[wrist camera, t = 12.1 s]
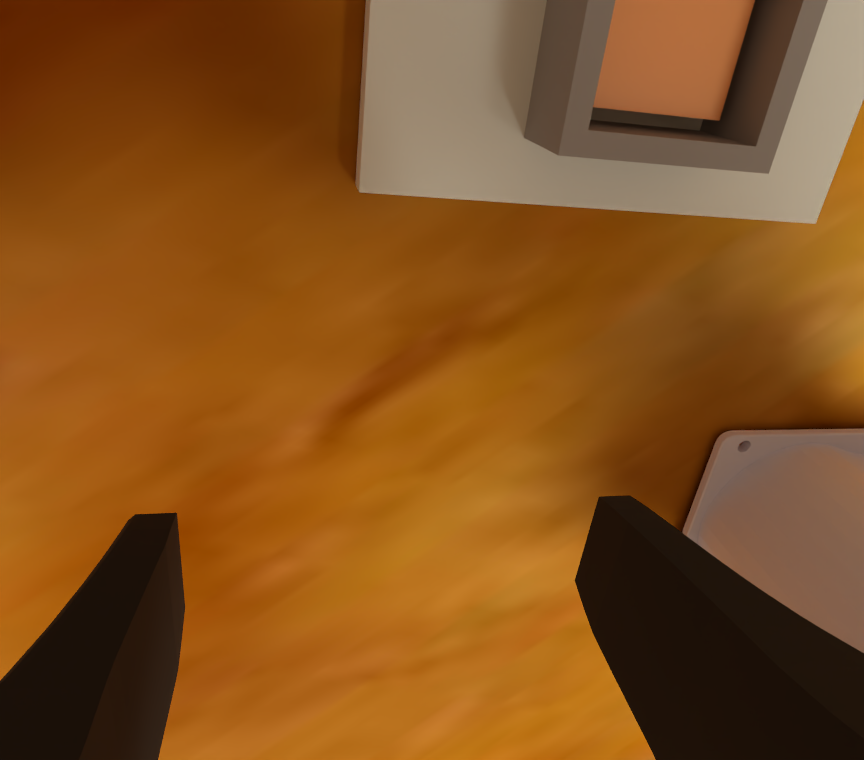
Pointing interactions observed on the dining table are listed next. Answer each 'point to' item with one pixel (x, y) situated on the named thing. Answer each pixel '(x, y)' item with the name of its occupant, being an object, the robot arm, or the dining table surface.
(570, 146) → the panel
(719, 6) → the button
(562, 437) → the dining table surface
